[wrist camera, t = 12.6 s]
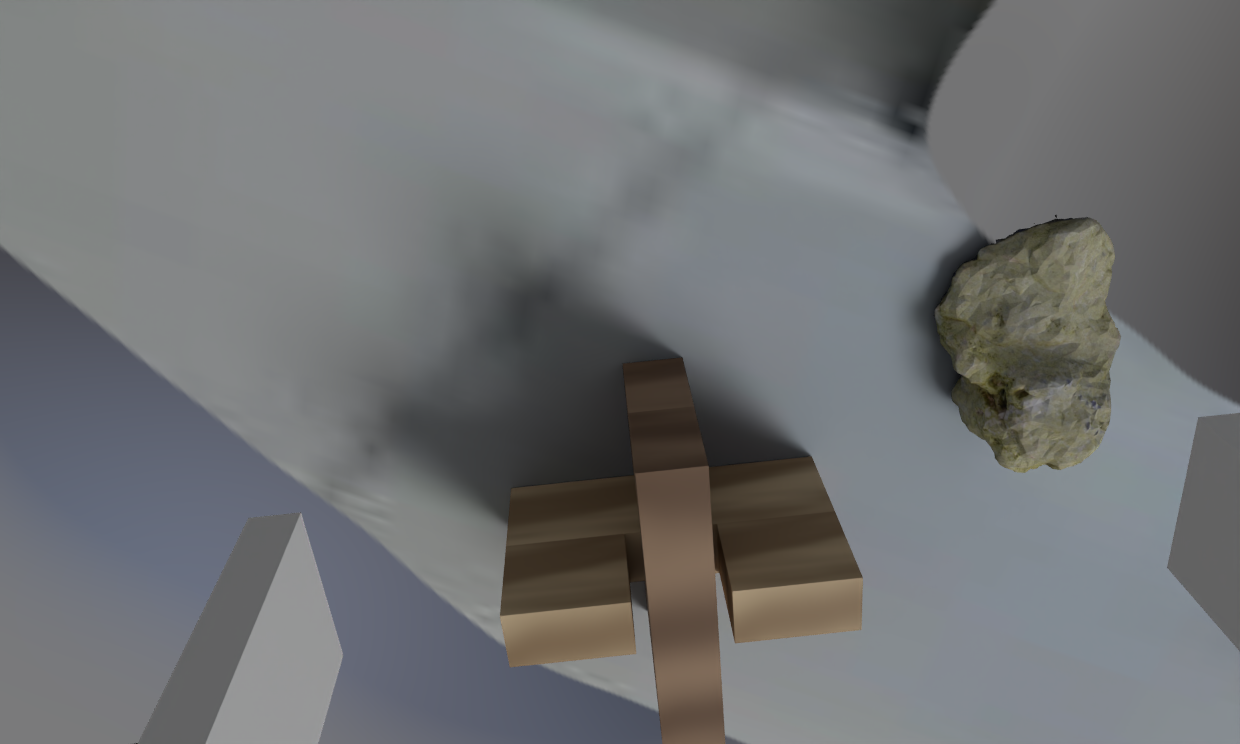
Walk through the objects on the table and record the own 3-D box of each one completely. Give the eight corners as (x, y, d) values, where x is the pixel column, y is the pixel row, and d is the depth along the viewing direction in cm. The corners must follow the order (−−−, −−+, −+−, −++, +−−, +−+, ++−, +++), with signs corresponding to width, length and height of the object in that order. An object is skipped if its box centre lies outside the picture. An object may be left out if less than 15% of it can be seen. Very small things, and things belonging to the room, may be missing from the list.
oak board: (511, 488, 52) (500, 616, 43) (811, 456, 52) (862, 577, 43) (519, 534, 53) (509, 667, 44) (811, 503, 53) (861, 630, 44)
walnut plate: (622, 363, 49) (635, 473, 40) (682, 357, 49) (708, 465, 40) (647, 611, 56) (663, 751, 47) (699, 606, 56) (725, 744, 47)
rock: (1051, 179, 47) (881, 305, 48) (1141, 210, 41) (945, 353, 42) (1130, 340, 51) (973, 453, 52) (1221, 388, 46) (1043, 514, 46)
